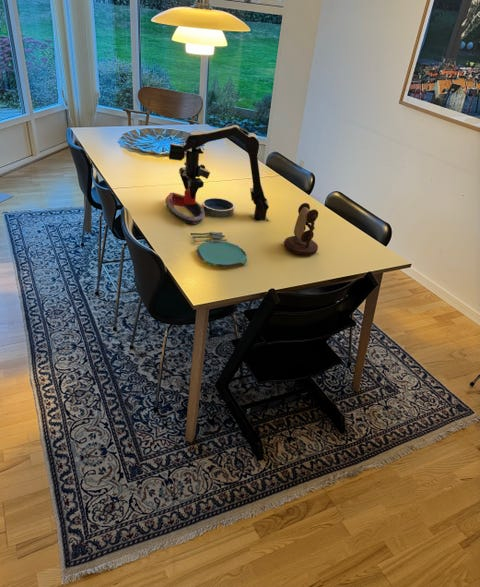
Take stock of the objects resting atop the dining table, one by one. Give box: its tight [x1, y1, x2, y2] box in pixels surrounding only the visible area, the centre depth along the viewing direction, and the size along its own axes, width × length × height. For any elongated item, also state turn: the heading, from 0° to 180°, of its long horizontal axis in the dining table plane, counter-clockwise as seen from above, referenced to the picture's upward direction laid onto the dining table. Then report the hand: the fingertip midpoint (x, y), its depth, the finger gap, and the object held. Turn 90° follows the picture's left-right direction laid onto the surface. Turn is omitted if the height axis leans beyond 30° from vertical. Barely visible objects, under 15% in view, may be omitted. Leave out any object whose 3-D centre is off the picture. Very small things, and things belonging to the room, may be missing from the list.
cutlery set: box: [190, 231, 248, 267], centre depth 183 cm, size 20×30×2 cm, turn 19°
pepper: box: [183, 189, 197, 205], centre depth 209 cm, size 5×5×7 cm
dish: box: [164, 191, 206, 225], centre depth 210 cm, size 16×31×5 cm, turn 26°
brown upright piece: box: [283, 202, 319, 256], centre depth 190 cm, size 15×15×20 cm
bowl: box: [201, 197, 235, 219], centre depth 216 cm, size 15×15×4 cm
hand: (189, 194), depth 209 cm, fingers open, 9 cm apart
